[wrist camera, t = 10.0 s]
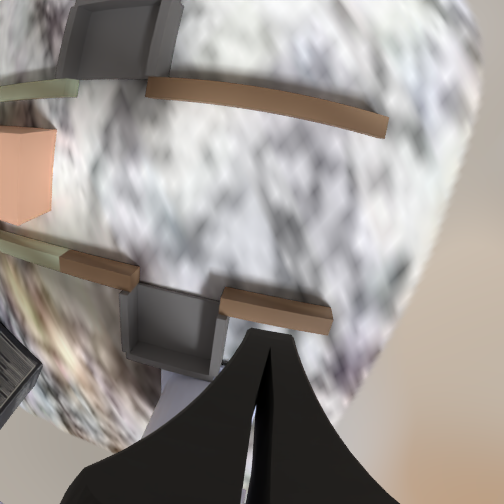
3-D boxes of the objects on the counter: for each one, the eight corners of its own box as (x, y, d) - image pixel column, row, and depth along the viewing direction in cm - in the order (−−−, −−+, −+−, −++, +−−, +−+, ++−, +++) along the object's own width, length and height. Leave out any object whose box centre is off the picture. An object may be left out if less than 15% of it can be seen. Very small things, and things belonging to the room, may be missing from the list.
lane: (325, 322, 21) (329, 344, 19) (-25, 233, 22) (-42, 242, 20) (381, 118, 16) (394, 116, 14) (-25, 93, 17) (-44, 94, 15)
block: (52, 209, 21) (17, 226, 17) (-2, 194, 21) (-34, 207, 17) (58, 129, 18) (20, 134, 15) (1, 125, 18) (-34, 130, 15)
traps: (221, 365, 23) (216, 383, 21) (71, 321, 24) (59, 334, 22) (286, 5, 14) (286, -8, 12) (89, 6, 15) (73, -1, 13)
